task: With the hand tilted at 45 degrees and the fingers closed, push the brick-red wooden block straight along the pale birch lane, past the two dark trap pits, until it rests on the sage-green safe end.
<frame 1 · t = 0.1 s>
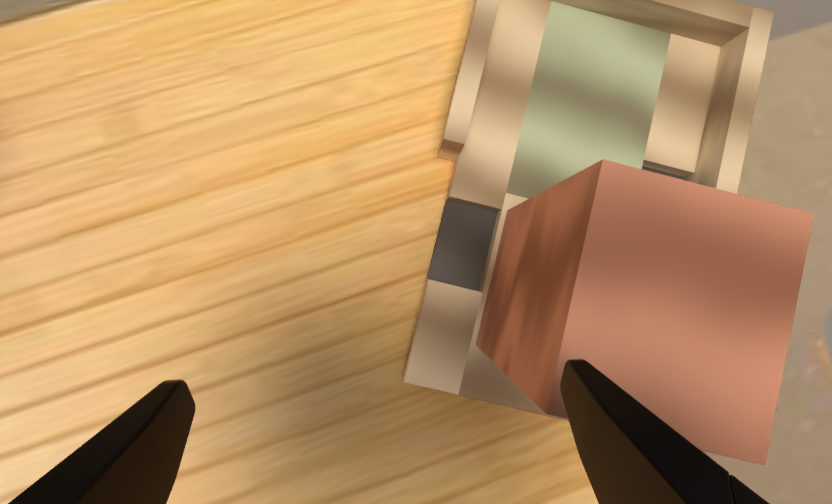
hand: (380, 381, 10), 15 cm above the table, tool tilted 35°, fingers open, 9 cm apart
trap box: (557, 212, 25), on the table
block: (549, 291, 23), point 1 cm above the table, touching trap box
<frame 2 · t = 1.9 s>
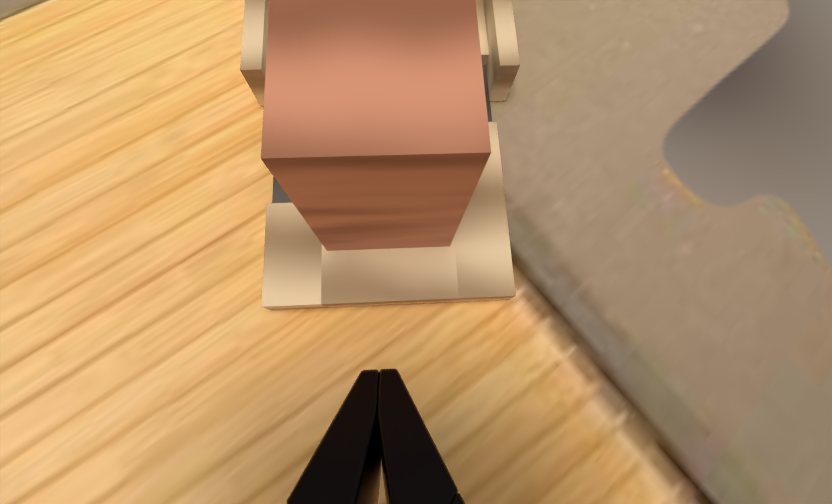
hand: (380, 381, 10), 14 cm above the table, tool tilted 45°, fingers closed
trap box: (385, 123, 27), on the table
block: (386, 183, 24), point 1 cm above the table, touching trap box
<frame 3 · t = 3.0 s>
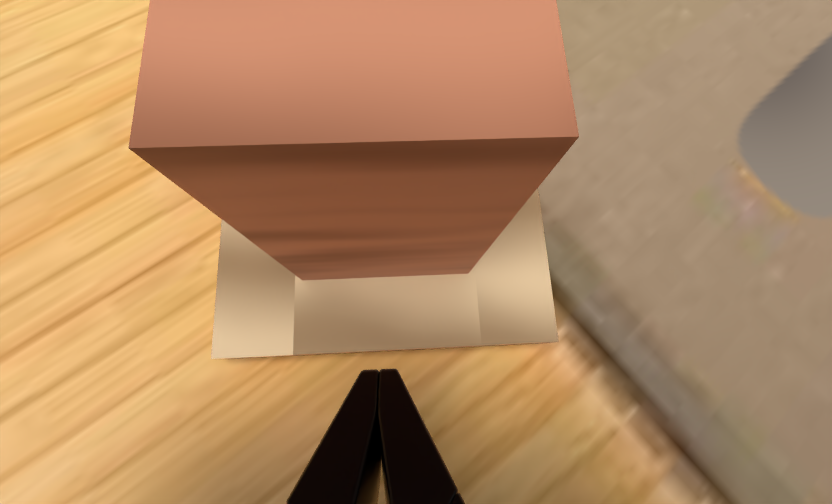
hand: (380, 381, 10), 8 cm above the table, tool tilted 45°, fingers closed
trap box: (381, 110, 21), on the table
block: (383, 189, 18), point 1 cm above the table, touching trap box
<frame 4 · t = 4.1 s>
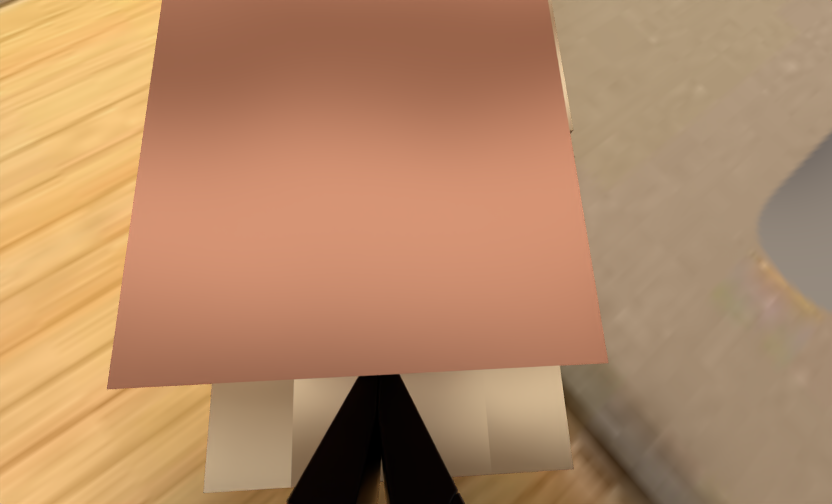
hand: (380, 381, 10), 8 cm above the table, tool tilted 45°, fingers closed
trap box: (384, 200, 20), on the table
block: (386, 268, 17), point 2 cm above the table, touching trap box
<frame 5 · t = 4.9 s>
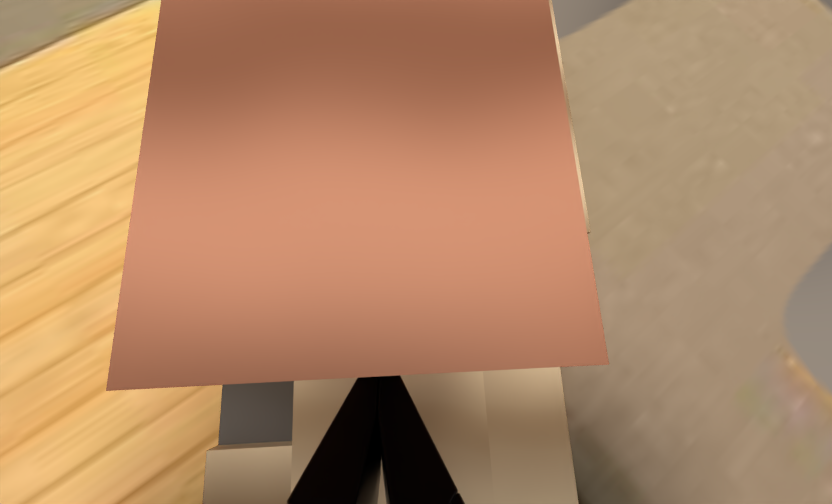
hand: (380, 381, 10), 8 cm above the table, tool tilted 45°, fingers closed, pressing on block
trap box: (387, 292, 18), on the table
block: (386, 268, 17), point 2 cm above the table, touching gripper
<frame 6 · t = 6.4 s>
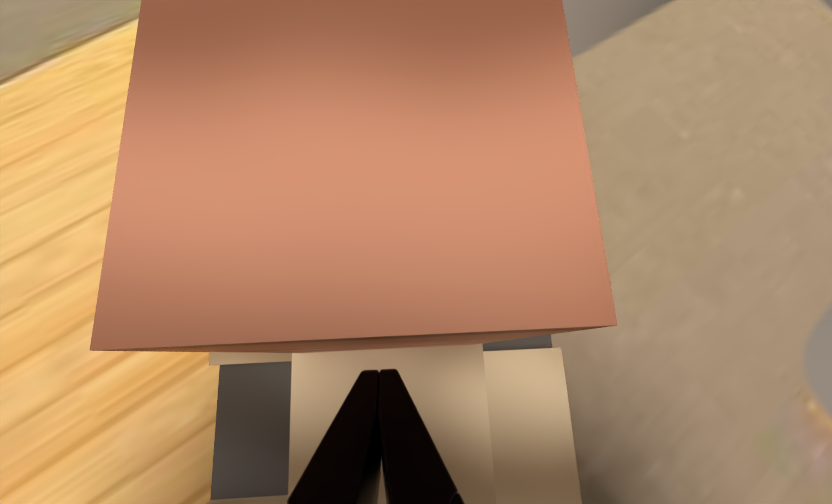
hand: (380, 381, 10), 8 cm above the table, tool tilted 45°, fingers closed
trap box: (388, 332, 18), on the table
block: (385, 251, 17), point 1 cm above the table, touching trap box
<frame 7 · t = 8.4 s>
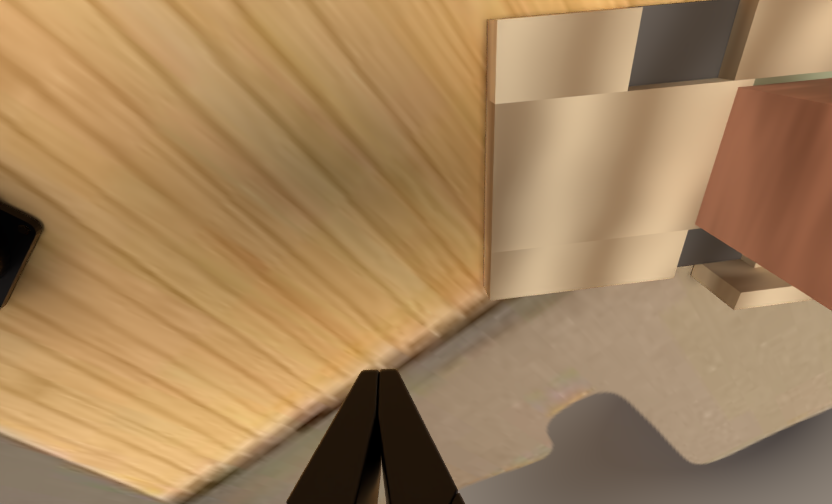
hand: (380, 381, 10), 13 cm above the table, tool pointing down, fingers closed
trap box: (706, 151, 21), on the table
block: (790, 153, 20), point 1 cm above the table, touching trap box
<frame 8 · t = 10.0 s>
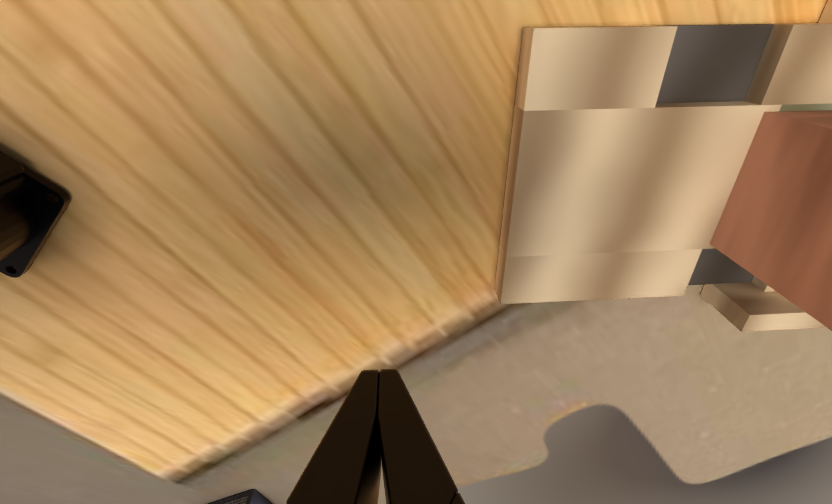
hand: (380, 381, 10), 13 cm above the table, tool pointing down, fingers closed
trap box: (726, 173, 22), on the table
block: (809, 181, 20), point 1 cm above the table, touching trap box
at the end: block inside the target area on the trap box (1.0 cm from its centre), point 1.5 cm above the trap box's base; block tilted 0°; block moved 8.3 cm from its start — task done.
